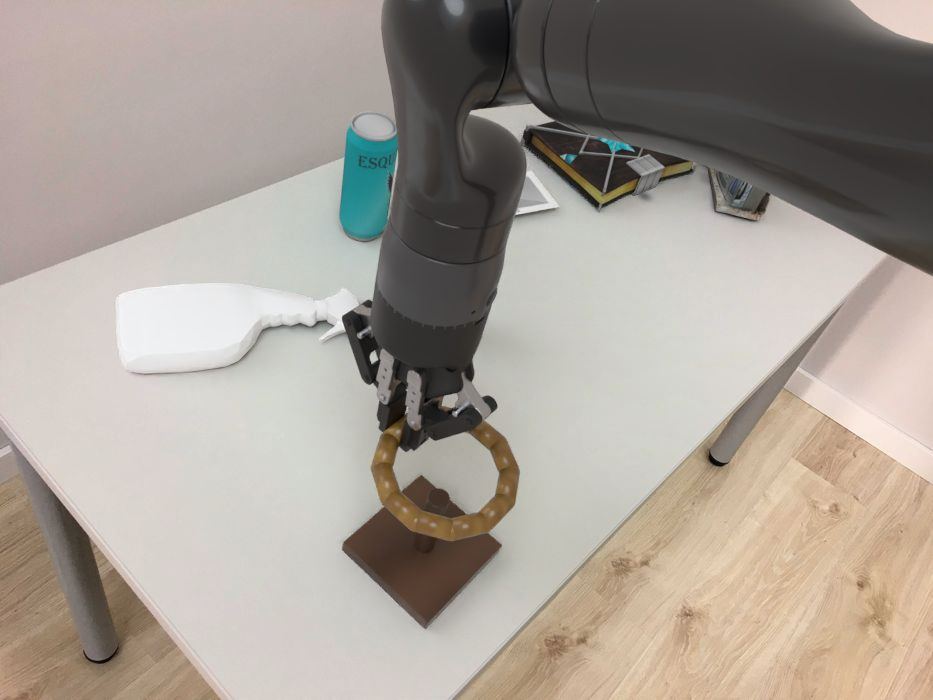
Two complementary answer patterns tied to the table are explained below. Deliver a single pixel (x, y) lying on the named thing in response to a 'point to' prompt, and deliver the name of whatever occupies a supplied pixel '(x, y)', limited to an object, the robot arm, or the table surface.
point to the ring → (432, 522)
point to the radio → (737, 196)
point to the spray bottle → (211, 323)
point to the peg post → (419, 555)
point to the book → (601, 162)
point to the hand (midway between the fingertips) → (401, 434)
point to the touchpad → (534, 196)
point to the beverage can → (368, 174)
